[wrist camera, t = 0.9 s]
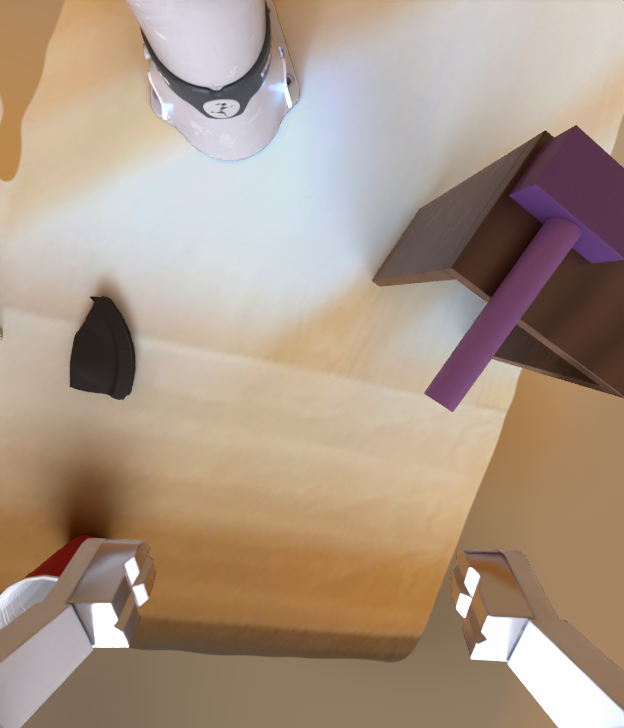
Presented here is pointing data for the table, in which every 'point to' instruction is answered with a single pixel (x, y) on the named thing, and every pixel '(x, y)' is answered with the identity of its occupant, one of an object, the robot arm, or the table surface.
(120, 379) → the black flat piece
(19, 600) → the plastic cup
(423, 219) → the bench
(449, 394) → the toy hammer
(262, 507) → the table surface
